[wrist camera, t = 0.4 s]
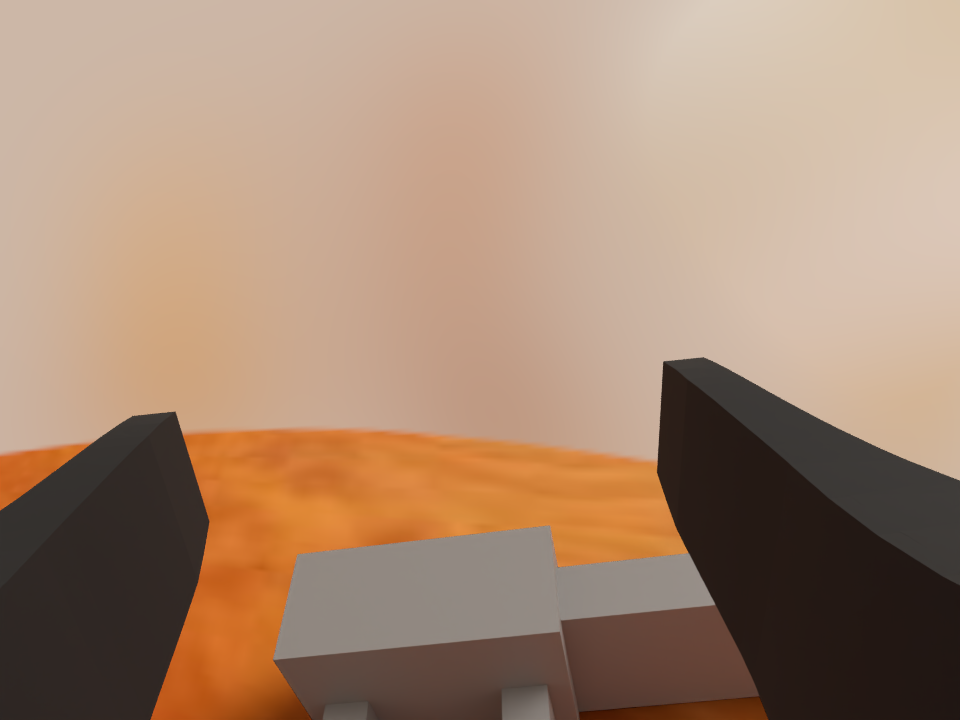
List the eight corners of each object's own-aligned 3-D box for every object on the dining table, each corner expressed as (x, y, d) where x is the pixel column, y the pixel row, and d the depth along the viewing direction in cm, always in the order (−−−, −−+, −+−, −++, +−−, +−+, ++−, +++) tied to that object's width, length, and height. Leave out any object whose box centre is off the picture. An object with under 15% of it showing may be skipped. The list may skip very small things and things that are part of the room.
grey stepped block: (1094, 878, 21) (1194, 770, 17) (314, 923, 24) (231, 839, 19) (940, 601, 28) (984, 475, 24) (352, 658, 31) (297, 554, 26)
